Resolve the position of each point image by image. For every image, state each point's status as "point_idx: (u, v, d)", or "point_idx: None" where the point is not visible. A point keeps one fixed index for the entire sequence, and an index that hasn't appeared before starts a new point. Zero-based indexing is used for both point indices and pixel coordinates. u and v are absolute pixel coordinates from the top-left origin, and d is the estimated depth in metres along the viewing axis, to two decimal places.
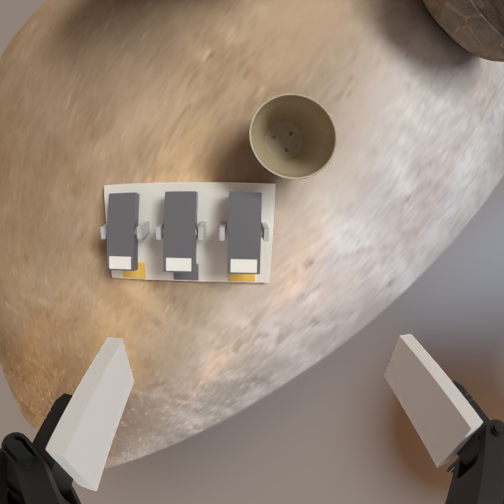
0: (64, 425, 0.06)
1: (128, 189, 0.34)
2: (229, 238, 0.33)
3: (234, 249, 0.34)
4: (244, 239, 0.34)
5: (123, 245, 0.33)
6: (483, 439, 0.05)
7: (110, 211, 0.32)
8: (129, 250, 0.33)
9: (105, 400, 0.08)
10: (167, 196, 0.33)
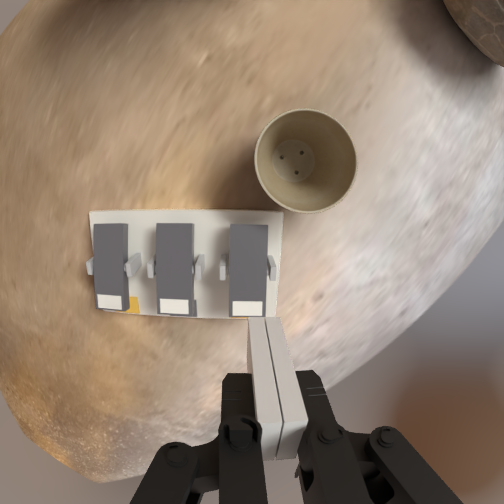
0: (263, 396, 0.08)
1: (116, 217, 0.30)
2: (231, 278, 0.29)
3: (236, 290, 0.29)
4: (248, 279, 0.29)
5: (112, 282, 0.28)
6: (311, 452, 0.06)
7: (96, 244, 0.28)
8: (119, 289, 0.28)
9: None
10: (159, 229, 0.28)
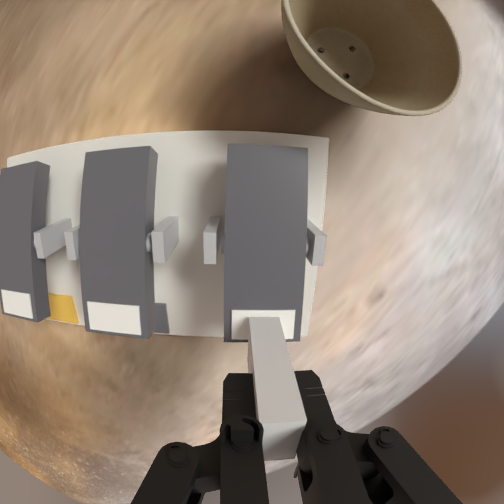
0: (264, 396, 0.08)
1: (38, 159, 0.14)
2: (228, 260, 0.13)
3: (241, 287, 0.14)
4: (266, 262, 0.13)
5: (17, 269, 0.12)
6: (310, 452, 0.06)
7: (0, 203, 0.12)
8: (26, 281, 0.13)
9: None
10: (89, 162, 0.12)
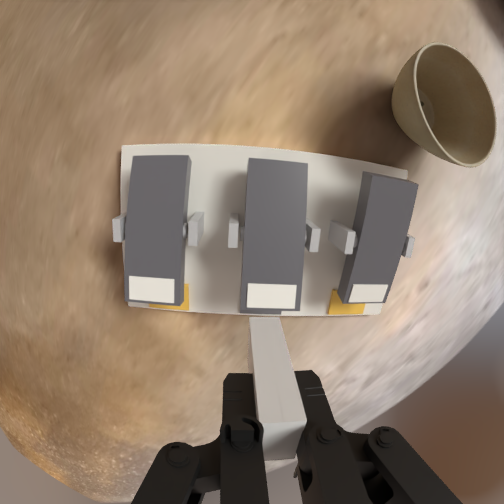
0: (264, 396, 0.08)
1: (168, 153, 0.19)
2: (358, 254, 0.19)
3: (362, 270, 0.19)
4: (379, 256, 0.19)
5: (159, 255, 0.17)
6: (310, 452, 0.06)
7: (134, 189, 0.17)
8: (171, 266, 0.17)
9: None
10: (253, 167, 0.17)
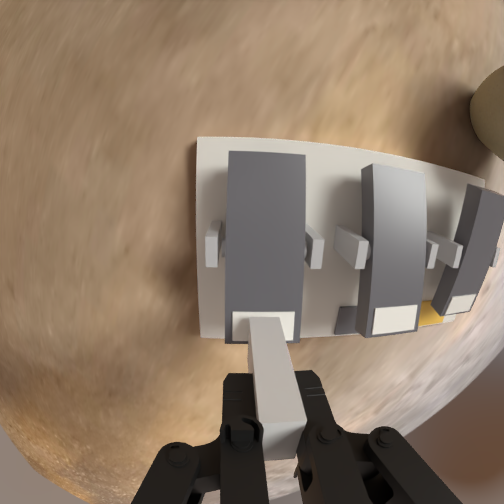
0: (264, 396, 0.08)
1: (262, 150, 0.16)
2: (462, 267, 0.15)
3: (461, 283, 0.16)
4: (475, 268, 0.15)
5: (275, 283, 0.14)
6: (310, 452, 0.06)
7: (235, 196, 0.14)
8: (291, 296, 0.14)
9: None
10: (378, 174, 0.14)
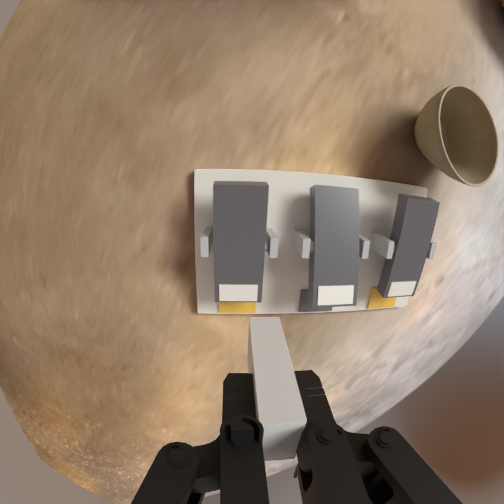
0: (264, 396, 0.08)
1: (239, 177, 0.24)
2: (396, 258, 0.23)
3: (398, 271, 0.23)
4: (410, 259, 0.23)
5: (245, 268, 0.22)
6: (310, 452, 0.06)
7: (218, 216, 0.20)
8: (255, 276, 0.23)
9: None
10: (319, 192, 0.22)
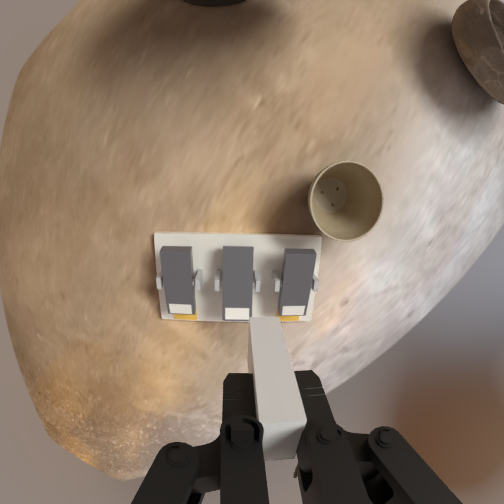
0: (264, 396, 0.08)
1: (180, 238, 0.38)
2: (283, 291, 0.37)
3: (286, 299, 0.38)
4: (296, 291, 0.37)
5: (182, 295, 0.37)
6: (310, 452, 0.06)
7: (164, 267, 0.35)
8: (189, 300, 0.37)
9: None
10: (225, 251, 0.36)
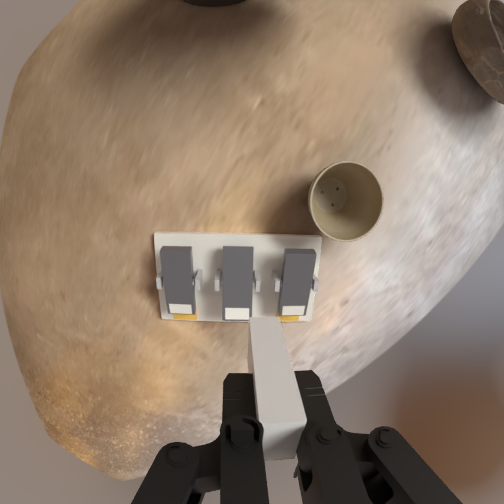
0: (264, 396, 0.08)
1: (180, 238, 0.38)
2: (283, 291, 0.37)
3: (286, 299, 0.38)
4: (296, 291, 0.37)
5: (182, 295, 0.37)
6: (310, 452, 0.06)
7: (164, 267, 0.35)
8: (189, 300, 0.37)
9: None
10: (225, 251, 0.36)
